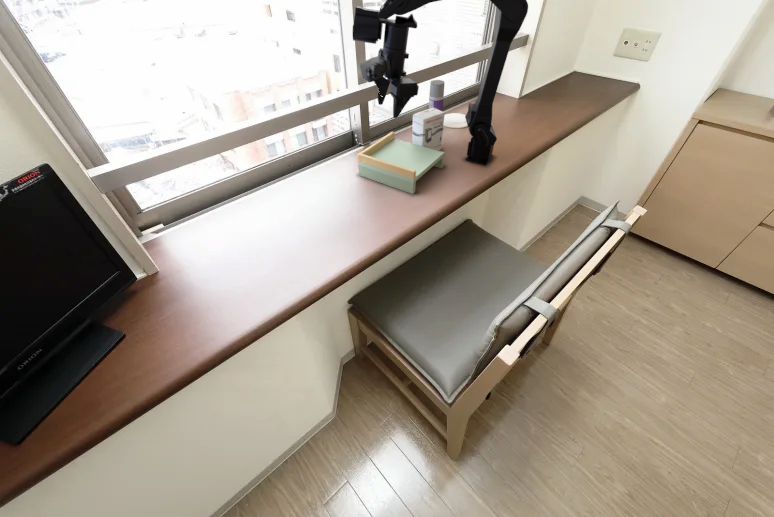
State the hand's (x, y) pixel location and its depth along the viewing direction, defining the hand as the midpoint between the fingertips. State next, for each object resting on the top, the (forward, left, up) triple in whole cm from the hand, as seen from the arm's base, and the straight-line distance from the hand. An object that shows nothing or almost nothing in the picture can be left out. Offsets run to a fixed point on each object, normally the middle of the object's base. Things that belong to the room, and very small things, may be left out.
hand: (387, 110), depth 94 cm
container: (-2, -26, -14) cm, 30 cm away
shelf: (-8, +4, -14) cm, 17 cm away
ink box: (-8, -10, -14) cm, 19 cm away
